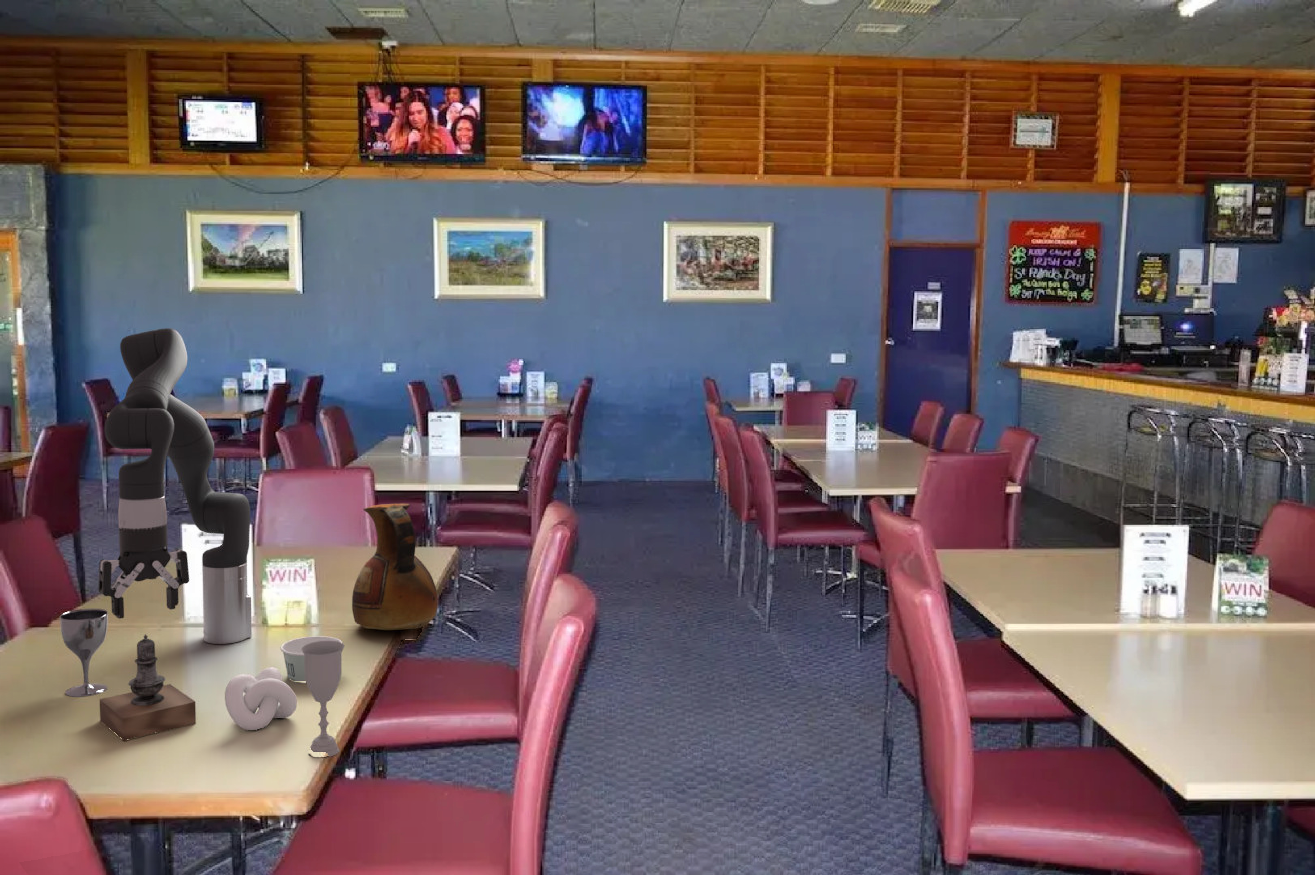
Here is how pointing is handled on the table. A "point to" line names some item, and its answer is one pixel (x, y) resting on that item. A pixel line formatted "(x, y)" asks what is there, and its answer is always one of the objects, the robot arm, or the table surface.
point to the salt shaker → (146, 675)
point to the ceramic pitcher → (394, 576)
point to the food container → (299, 655)
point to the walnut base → (147, 713)
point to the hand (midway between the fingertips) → (145, 613)
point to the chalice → (323, 685)
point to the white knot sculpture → (259, 699)
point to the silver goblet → (84, 643)
